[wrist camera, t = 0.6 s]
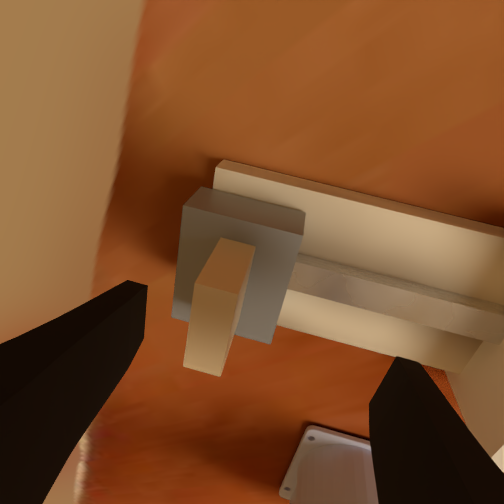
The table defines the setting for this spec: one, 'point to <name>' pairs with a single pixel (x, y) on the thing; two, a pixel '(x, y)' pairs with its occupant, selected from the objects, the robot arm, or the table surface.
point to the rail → (398, 298)
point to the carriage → (232, 272)
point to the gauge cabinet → (483, 398)
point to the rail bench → (380, 261)
